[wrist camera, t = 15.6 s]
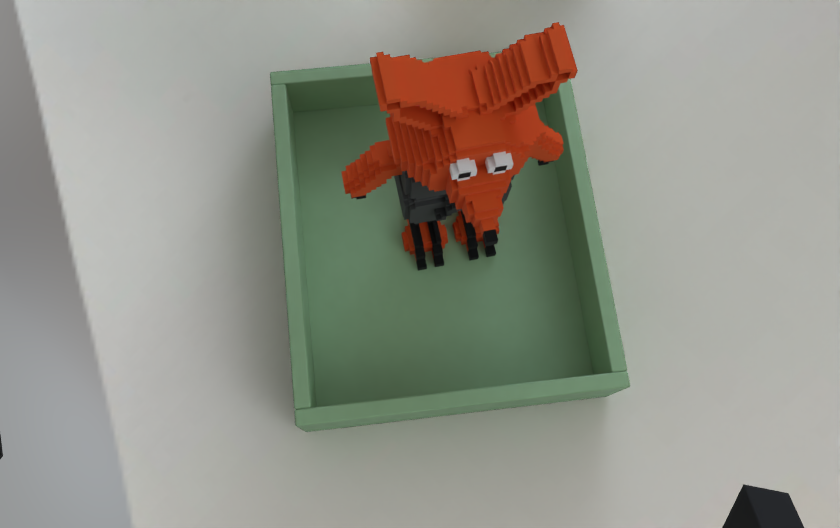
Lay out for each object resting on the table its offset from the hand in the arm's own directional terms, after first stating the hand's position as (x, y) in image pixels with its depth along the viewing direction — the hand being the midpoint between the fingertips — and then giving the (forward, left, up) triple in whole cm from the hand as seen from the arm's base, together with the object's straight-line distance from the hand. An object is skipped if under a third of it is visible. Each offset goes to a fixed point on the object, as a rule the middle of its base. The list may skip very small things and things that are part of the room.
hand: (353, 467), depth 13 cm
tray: (-9, +4, -17) cm, 19 cm away
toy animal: (-9, +4, -16) cm, 19 cm away
